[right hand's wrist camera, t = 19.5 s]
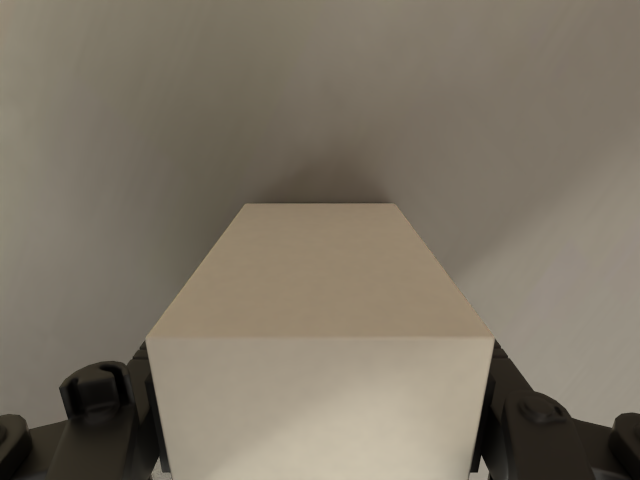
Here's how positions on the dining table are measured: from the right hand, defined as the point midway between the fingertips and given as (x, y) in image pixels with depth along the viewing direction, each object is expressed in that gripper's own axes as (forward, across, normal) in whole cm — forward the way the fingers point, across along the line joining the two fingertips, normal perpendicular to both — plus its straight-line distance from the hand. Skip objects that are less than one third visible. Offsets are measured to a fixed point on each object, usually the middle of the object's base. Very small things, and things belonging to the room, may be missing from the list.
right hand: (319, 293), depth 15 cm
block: (+2, 0, 0) cm, 2 cm away
